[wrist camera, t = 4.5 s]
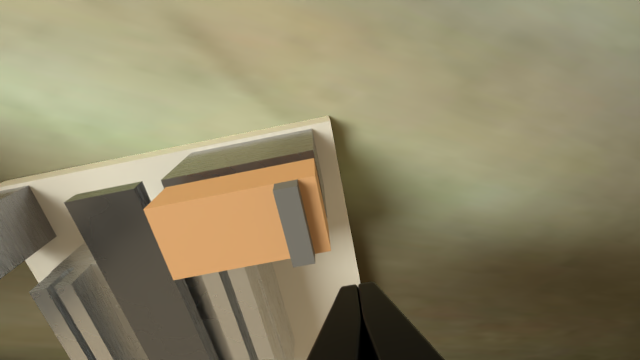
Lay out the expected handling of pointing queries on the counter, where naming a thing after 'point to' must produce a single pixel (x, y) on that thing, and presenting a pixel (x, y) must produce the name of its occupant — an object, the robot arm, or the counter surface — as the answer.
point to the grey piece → (206, 290)
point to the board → (58, 186)
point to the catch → (241, 220)
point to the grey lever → (140, 273)
